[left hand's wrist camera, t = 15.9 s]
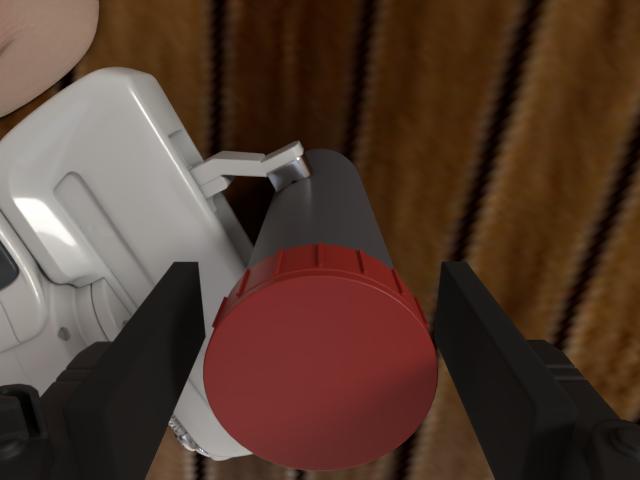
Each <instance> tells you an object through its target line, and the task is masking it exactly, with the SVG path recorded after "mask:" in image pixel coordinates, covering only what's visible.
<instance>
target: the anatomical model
mask: <svg viewBox="0 0 640 480" xmlns="http://www.w3.org/2000/svg"><path fill="white" fill-rule="evenodd" d="M98 17H99V0H0V117H2V116H5V115H7V114H9V113H11V112H13V111H14V110H16V109H18V108H20V107H21V106H23V105H25V104H26V103H28V102H30V101H31V100H33V99H34V98H36V97H37V96H39V95H40V94H41V93H43V92H44V91H46V90H47V89H48V88H50V87H51V86H52V85H53V84H55V83H56V82H57V81H59V80H60V79H61V78H62V77H63V76H64V75H66V74H67V73H68V72H69V71H70V70H71V69H72V68H73V67H74V66H75V65H76V64H77V63H78V62H79V61H80V60H81V59H82V57H83V56H84V55H85V54H86V52H87V50H88V49H89V47H90V45H91V43H92V41H93V39H94V36H95V33H96V29H97V24H98Z"/></svg>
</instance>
